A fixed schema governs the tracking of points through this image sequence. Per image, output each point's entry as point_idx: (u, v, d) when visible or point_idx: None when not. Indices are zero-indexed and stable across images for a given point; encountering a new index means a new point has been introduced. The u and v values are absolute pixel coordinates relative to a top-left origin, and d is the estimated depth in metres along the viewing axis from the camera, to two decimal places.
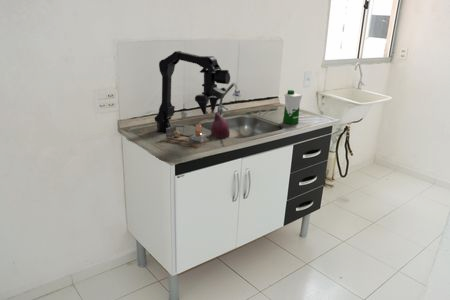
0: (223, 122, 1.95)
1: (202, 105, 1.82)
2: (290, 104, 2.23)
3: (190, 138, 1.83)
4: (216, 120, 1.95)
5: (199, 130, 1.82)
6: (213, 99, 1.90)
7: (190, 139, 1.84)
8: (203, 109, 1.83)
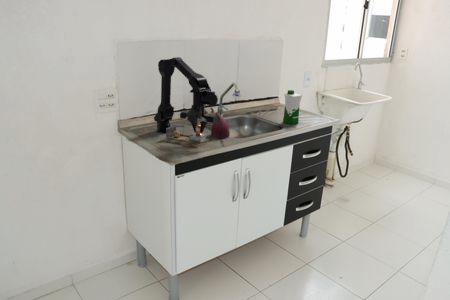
0: (223, 122, 1.95)
1: None
2: (290, 104, 2.23)
3: (190, 138, 1.83)
4: None
5: (199, 130, 1.82)
6: None
7: (190, 139, 1.84)
8: None
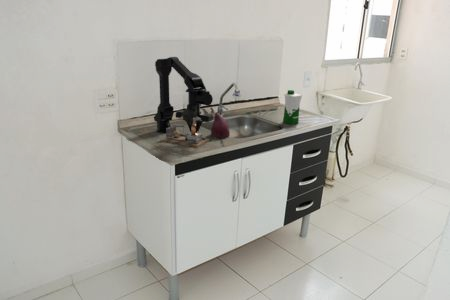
0: (223, 122, 1.95)
1: None
2: (290, 104, 2.23)
3: (186, 137, 1.84)
4: (216, 120, 1.95)
5: (195, 129, 1.83)
6: None
7: (186, 138, 1.85)
8: None
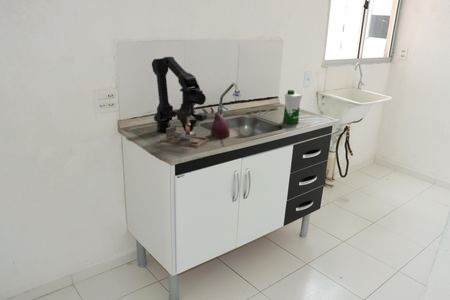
0: (223, 122, 1.95)
1: None
2: (290, 104, 2.23)
3: (180, 136, 1.86)
4: (216, 120, 1.95)
5: (189, 128, 1.85)
6: None
7: (180, 137, 1.86)
8: None
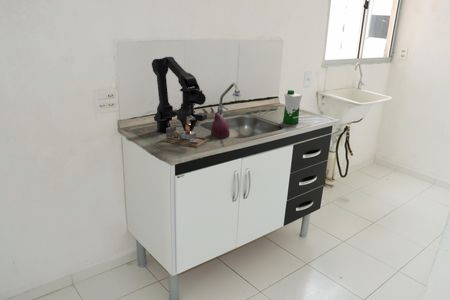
0: (223, 122, 1.95)
1: None
2: (290, 104, 2.23)
3: (180, 136, 1.86)
4: (216, 120, 1.95)
5: (189, 128, 1.85)
6: None
7: (180, 137, 1.86)
8: None
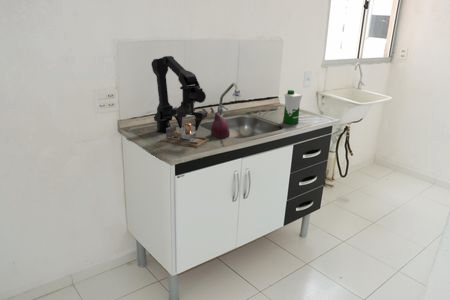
0: (223, 122, 1.95)
1: None
2: (290, 104, 2.23)
3: (180, 136, 1.86)
4: (216, 120, 1.95)
5: (189, 128, 1.85)
6: None
7: (180, 137, 1.86)
8: None
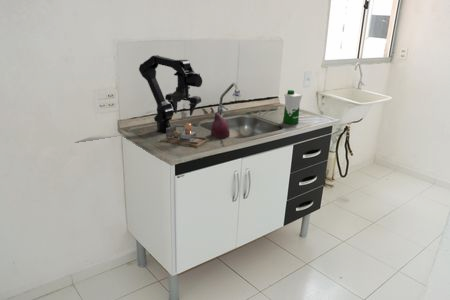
0: (223, 122, 1.95)
1: None
2: (290, 104, 2.23)
3: (180, 136, 1.86)
4: (216, 120, 1.95)
5: (189, 128, 1.85)
6: None
7: (180, 137, 1.86)
8: None
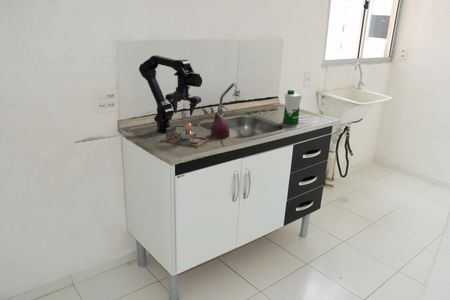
0: (223, 122, 1.95)
1: None
2: (290, 104, 2.23)
3: (180, 136, 1.86)
4: (216, 120, 1.95)
5: (189, 128, 1.85)
6: None
7: (180, 137, 1.86)
8: None
